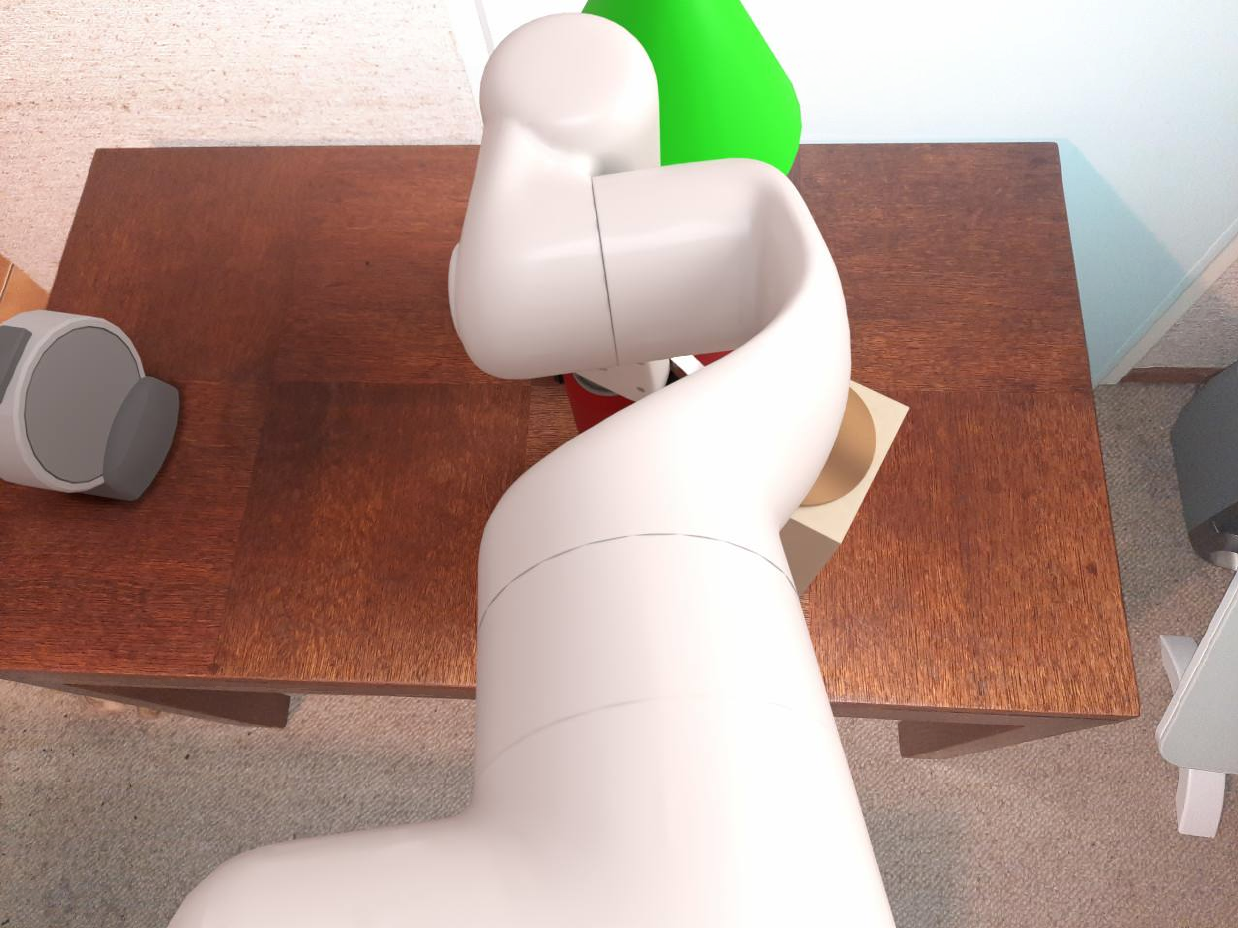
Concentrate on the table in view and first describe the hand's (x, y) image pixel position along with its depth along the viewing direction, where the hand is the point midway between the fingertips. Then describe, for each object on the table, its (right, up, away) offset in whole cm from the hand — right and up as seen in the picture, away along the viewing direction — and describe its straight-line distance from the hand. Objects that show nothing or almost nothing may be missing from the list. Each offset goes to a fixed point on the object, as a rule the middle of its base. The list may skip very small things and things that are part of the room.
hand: (613, 388), depth 62 cm
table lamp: (+5, +9, +26) cm, 28 cm away
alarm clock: (-50, -3, +25) cm, 56 cm away
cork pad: (+12, -4, -9) cm, 15 cm away
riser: (+13, -13, +17) cm, 25 cm away
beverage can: (0, -3, +7) cm, 7 cm away
